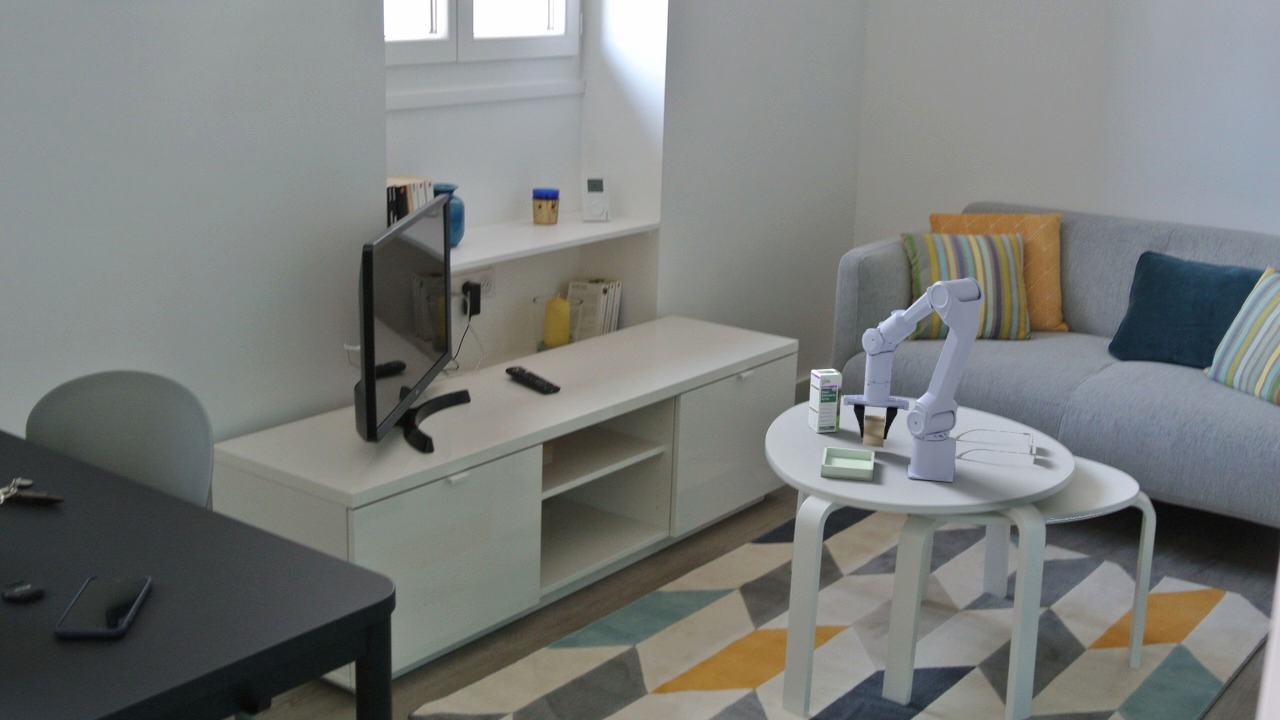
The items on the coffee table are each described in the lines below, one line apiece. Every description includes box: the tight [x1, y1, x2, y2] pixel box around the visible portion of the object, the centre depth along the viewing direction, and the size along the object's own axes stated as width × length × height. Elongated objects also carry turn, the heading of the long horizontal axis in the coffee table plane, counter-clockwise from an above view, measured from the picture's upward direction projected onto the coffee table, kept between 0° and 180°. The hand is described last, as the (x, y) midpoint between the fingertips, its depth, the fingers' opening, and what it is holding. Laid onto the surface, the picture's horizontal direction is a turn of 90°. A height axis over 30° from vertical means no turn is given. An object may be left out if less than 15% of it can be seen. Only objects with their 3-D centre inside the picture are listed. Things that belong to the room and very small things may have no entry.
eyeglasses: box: [953, 428, 1037, 464], centre depth 291 cm, size 15×18×4 cm
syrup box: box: [807, 368, 843, 434], centre depth 303 cm, size 6×6×14 cm
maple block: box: [862, 414, 886, 448], centre depth 288 cm, size 4×4×6 cm
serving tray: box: [820, 446, 875, 482], centre depth 277 cm, size 11×13×2 cm
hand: (873, 437), depth 288 cm, fingers closed on maple block, 4 cm apart
